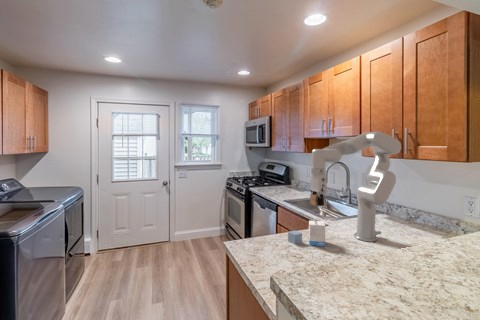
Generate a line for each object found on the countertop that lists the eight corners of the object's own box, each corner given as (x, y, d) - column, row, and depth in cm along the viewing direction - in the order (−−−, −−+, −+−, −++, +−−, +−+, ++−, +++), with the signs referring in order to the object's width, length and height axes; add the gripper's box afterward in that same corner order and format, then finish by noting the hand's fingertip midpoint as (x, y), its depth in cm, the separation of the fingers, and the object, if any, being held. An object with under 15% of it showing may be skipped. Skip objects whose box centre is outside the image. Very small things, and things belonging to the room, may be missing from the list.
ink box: (325, 246, 135) (326, 222, 134) (309, 245, 137) (309, 221, 136) (323, 240, 144) (323, 218, 143) (308, 239, 145) (308, 217, 145)
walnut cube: (318, 203, 142) (318, 193, 142) (324, 205, 137) (324, 195, 137) (310, 203, 141) (310, 194, 141) (315, 206, 136) (315, 196, 135)
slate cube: (295, 239, 146) (295, 230, 145) (301, 242, 141) (302, 233, 141) (287, 241, 143) (288, 231, 143) (294, 244, 138) (294, 234, 138)
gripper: (333, 173, 131) (332, 207, 132) (315, 169, 147) (314, 200, 148) (321, 173, 129) (319, 207, 130) (304, 170, 145) (303, 200, 146)
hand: (317, 203), depth 139 cm, fingers closed on walnut cube, 5 cm apart
